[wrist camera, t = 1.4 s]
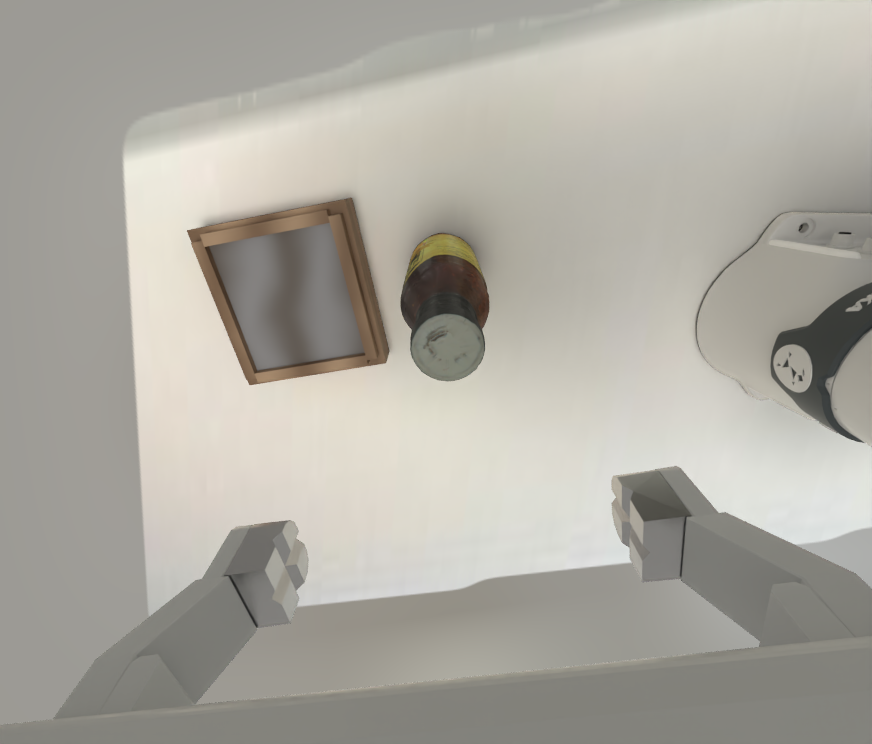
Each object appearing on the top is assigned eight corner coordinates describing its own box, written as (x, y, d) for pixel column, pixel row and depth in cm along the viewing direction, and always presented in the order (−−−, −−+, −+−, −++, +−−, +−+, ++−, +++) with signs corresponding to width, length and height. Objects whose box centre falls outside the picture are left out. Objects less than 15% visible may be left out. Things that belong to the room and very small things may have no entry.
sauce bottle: (407, 233, 39) (379, 281, 21) (475, 229, 39) (506, 275, 21) (413, 302, 42) (392, 398, 24) (476, 299, 42) (504, 393, 24)
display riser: (351, 197, 38) (342, 199, 34) (389, 351, 44) (384, 367, 40) (204, 226, 39) (180, 231, 35) (261, 372, 45) (245, 389, 41)
